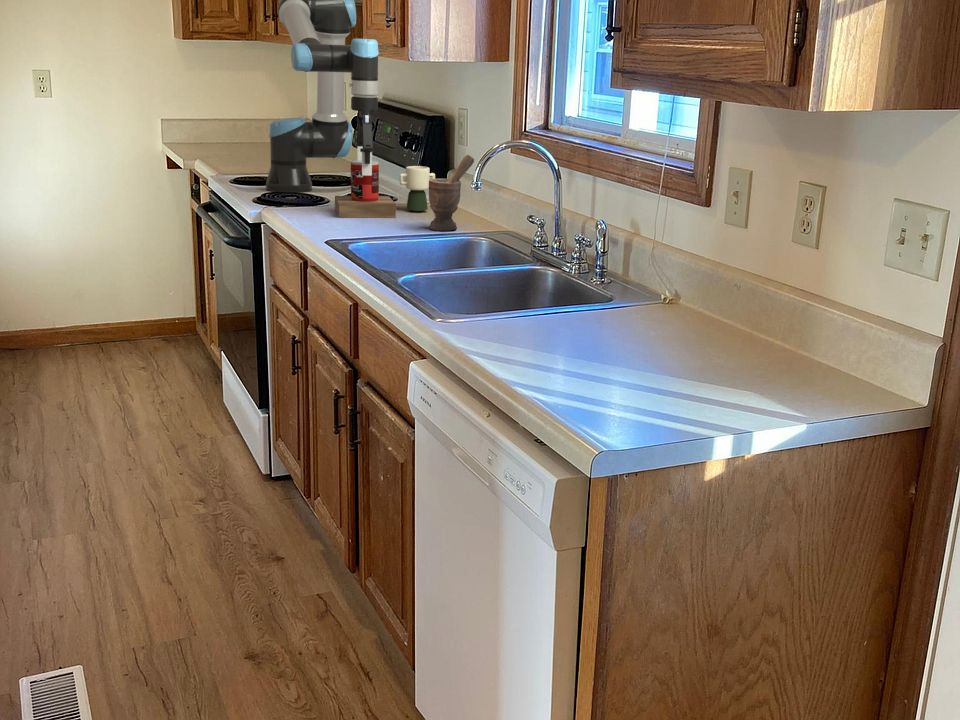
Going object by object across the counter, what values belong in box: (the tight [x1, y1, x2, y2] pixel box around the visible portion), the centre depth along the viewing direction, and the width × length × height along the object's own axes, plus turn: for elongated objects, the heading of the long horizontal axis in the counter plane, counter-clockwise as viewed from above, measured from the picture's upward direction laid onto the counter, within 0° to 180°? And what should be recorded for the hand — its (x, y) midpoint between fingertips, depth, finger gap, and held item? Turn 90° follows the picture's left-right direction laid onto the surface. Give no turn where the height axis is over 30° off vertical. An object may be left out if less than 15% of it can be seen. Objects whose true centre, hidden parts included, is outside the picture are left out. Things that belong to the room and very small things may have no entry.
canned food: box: [350, 159, 380, 202], centre depth 289 cm, size 8×8×11 cm
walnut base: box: [334, 195, 397, 219], centre depth 292 cm, size 16×16×4 cm
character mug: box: [399, 165, 436, 212], centre depth 297 cm, size 11×7×13 cm, turn 110°
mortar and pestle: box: [428, 154, 475, 232], centre depth 268 cm, size 12×9×20 cm
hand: (364, 172), depth 289 cm, fingers open, 13 cm apart
